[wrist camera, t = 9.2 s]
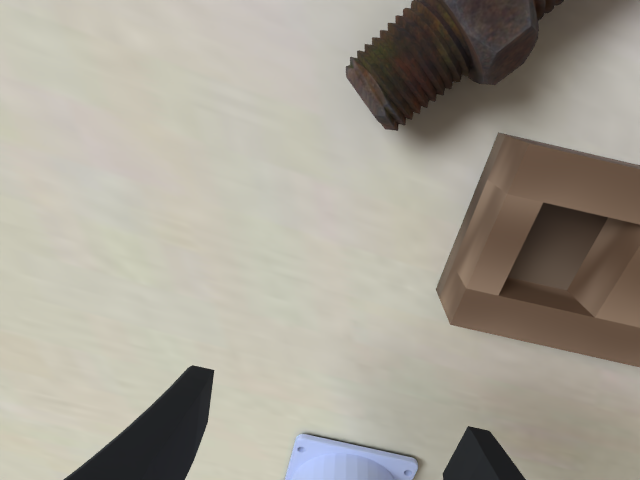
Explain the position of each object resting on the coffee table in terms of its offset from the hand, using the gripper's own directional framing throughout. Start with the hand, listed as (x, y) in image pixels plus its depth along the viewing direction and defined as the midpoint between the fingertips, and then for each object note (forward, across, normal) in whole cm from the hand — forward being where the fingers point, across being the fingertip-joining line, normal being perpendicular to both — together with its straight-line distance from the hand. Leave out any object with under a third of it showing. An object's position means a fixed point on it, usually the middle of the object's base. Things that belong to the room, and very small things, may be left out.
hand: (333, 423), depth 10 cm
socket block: (+9, -12, -4) cm, 16 cm away
